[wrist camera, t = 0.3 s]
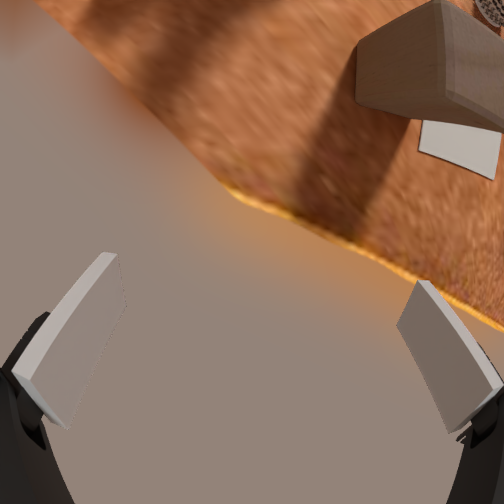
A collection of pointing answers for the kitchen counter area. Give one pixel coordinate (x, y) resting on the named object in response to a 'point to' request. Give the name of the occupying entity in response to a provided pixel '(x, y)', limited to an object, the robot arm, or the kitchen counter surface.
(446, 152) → the mat
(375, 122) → the kitchen counter surface
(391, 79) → the wooden block
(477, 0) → the decorative candle
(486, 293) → the kitchen counter surface
